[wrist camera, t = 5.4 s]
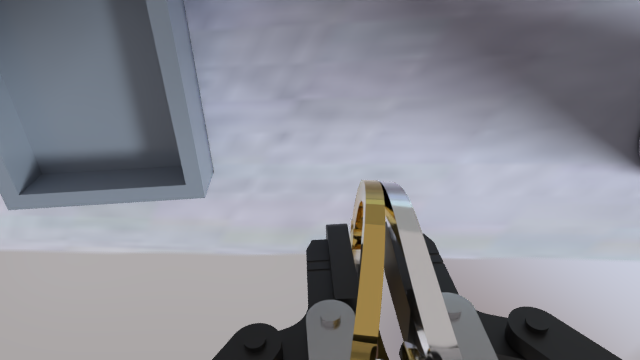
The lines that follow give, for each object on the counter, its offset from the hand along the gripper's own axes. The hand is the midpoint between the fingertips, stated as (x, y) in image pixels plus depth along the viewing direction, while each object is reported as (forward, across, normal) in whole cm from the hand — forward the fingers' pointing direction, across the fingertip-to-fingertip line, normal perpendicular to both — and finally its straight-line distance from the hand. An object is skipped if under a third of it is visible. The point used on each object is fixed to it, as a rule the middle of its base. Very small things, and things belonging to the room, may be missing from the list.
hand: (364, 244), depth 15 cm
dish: (+15, +14, -2) cm, 21 cm away
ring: (+1, 0, 0) cm, 1 cm away
